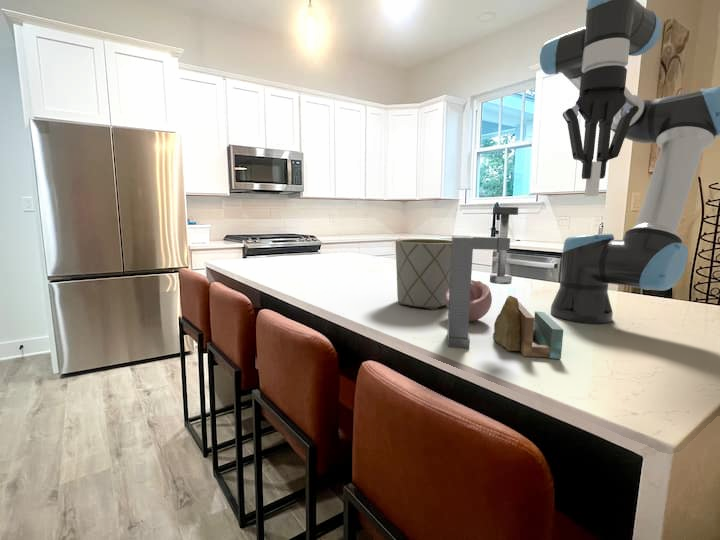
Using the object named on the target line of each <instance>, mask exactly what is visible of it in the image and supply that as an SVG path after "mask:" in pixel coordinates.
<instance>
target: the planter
mask: <svg viewBox="0 0 720 540" xmlns="http://www.w3.org/2000/svg"><path fill="white" fill-rule="evenodd" d="M451 247H452V239H451V240H449V239H437V238H436V239H435V238H434V239H433V238H431V239H430V238H404V239H396V240H395V265H396V268H395V269H396V288H397V289H396V290H397V291H396V292H397V301H398V304H399V305H404V306H405V305H407V306H411V307H416V308H424V309H429V310H433V311H435V310H437V309H438V308H440V307H443V306H446V302H445V294H446V292H447V291H448V289H449V288H450V268H451Z"/></svg>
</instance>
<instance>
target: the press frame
mask: <svg viewBox="0 0 720 540" xmlns="http://www.w3.org/2000/svg"><path fill="white" fill-rule="evenodd" d="M451 241H452V247H451V268H450V289H449V309H448V308H447V310H448V311H447V313H448V315H447V331H446V332H447V335H446V336H447V347H448V348H458V349H470V345H471V343H470V341H471V339H470V335H469V322H470V321H469V308H470V290H471V280H472V271H473V269H472V268H473V255H474V254H473V251H474V250H494V251H499V250H507V251H510V249H511V248H510V247H511V246H510V245H511V238H510V237H508V238H500V236H471V235H451Z"/></svg>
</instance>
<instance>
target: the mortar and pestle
mask: <svg viewBox="0 0 720 540" xmlns="http://www.w3.org/2000/svg"><path fill="white" fill-rule="evenodd" d="M449 289H450V288H449ZM449 289H448V291H447V292H446V294H445V302H446V305H445V306H446V308H447V310H448V309H449ZM492 300H493V296H492V291H491V289H490V287H489V285H488V284H486V283H484V282H482V281H480V280H472V279H471V290H470V308H469V322H474V321H478V320H480V319H482V318H483V317H484V316H486V315H487V313H488V312H489V311H490V309H491V307H492V306H491V305H492V302H493V301H492Z"/></svg>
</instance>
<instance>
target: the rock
mask: <svg viewBox="0 0 720 540" xmlns="http://www.w3.org/2000/svg"><path fill="white" fill-rule="evenodd" d="M518 302H519V300H518V298H517V297H515V296H512V295H507V298H506V300H505V302H504V304H503V305H502V307H501V310H500V311H499V312H500V313H498V315H497V317H496V318H495V321H494V325H493V327H494V329H493V330H494V331H493V333H492V336H493V340H494V341H496V343H497V344H499V345H501V346H502V347H503V348H506V350H507V351H509V352H512V351H514V352H515V351H520V343H521V333H520V331H521V326H520V313H519V304H518Z"/></svg>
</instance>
